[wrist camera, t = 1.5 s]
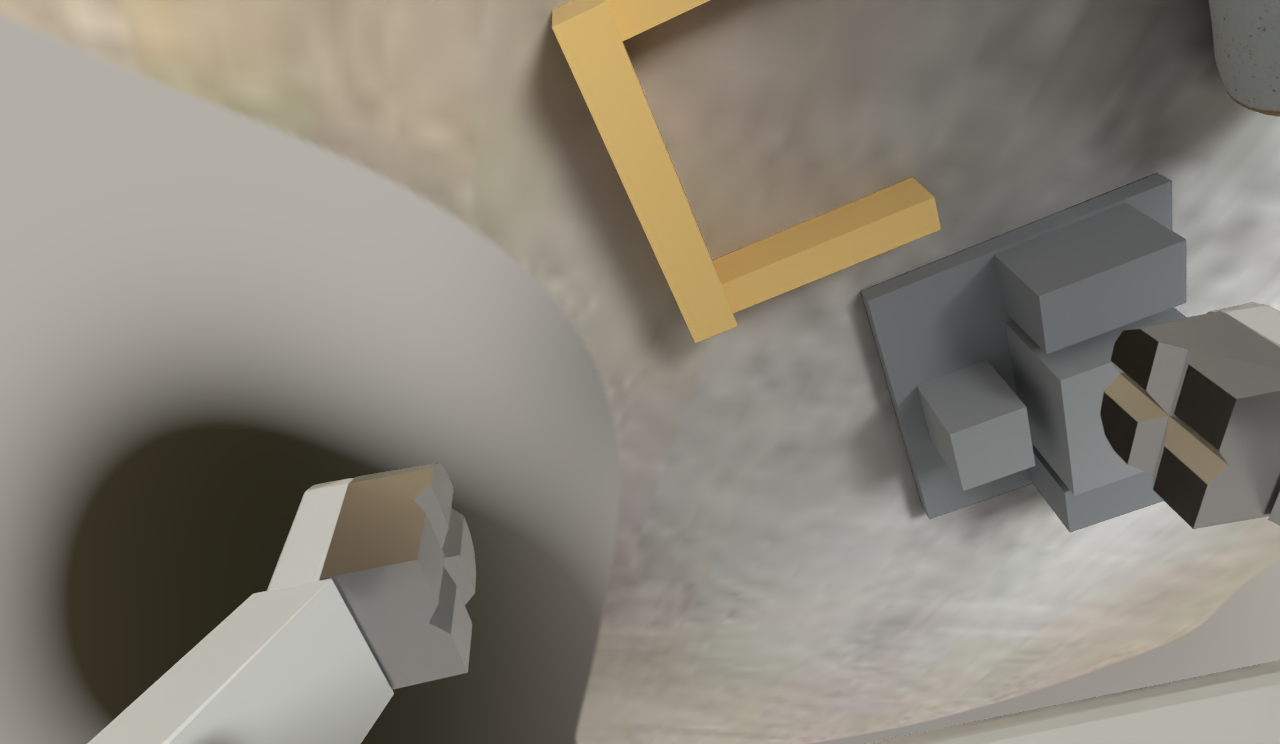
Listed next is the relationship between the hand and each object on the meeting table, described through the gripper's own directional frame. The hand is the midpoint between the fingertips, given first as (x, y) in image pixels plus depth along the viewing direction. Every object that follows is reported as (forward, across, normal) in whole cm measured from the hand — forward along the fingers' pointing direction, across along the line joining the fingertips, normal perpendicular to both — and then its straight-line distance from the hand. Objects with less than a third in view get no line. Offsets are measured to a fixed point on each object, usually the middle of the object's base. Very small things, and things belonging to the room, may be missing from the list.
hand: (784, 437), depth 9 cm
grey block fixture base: (+25, -19, +19) cm, 36 cm away
